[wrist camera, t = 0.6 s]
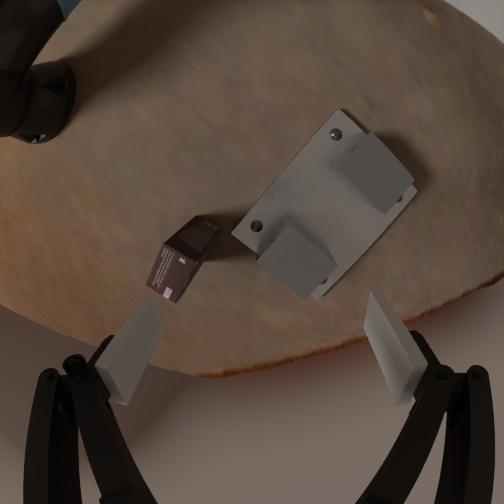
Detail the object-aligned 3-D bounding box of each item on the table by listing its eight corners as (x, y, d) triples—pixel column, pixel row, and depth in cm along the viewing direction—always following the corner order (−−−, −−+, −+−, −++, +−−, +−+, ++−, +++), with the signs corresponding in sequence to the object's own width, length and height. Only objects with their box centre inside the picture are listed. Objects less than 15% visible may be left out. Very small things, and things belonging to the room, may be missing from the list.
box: (194, 213, 37) (162, 241, 26) (222, 229, 38) (201, 263, 27) (176, 248, 40) (143, 286, 28) (203, 263, 40) (178, 306, 29)
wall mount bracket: (232, 231, 38) (225, 246, 32) (336, 109, 31) (348, 101, 25) (315, 296, 41) (322, 319, 35) (413, 189, 34) (435, 198, 28)
